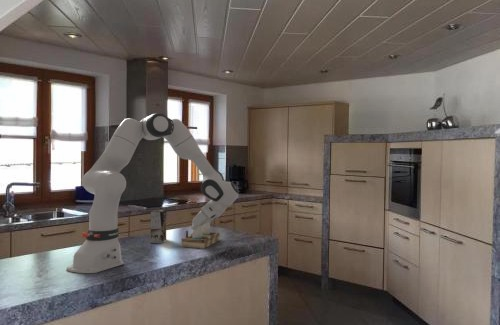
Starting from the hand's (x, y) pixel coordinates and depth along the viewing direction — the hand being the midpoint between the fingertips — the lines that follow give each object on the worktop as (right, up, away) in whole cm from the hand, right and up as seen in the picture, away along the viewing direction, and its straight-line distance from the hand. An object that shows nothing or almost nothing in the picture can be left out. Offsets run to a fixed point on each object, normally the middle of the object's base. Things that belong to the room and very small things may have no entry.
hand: (195, 227), depth 199 cm
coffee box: (-21, -9, +9) cm, 24 cm away
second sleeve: (+4, -6, +10) cm, 12 cm away
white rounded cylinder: (+1, -6, 0) cm, 6 cm away
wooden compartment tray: (+2, -9, +5) cm, 10 cm away
